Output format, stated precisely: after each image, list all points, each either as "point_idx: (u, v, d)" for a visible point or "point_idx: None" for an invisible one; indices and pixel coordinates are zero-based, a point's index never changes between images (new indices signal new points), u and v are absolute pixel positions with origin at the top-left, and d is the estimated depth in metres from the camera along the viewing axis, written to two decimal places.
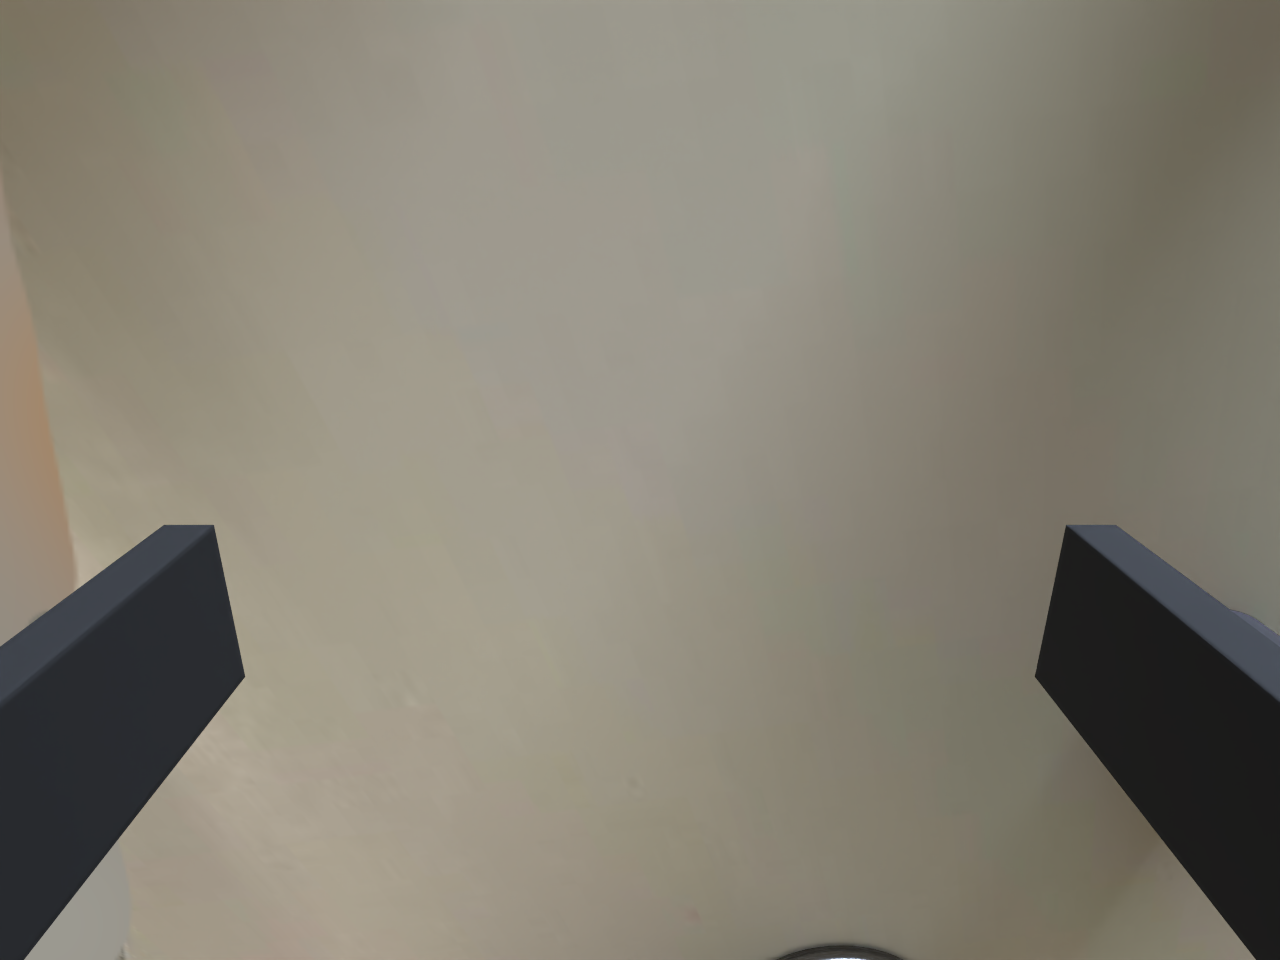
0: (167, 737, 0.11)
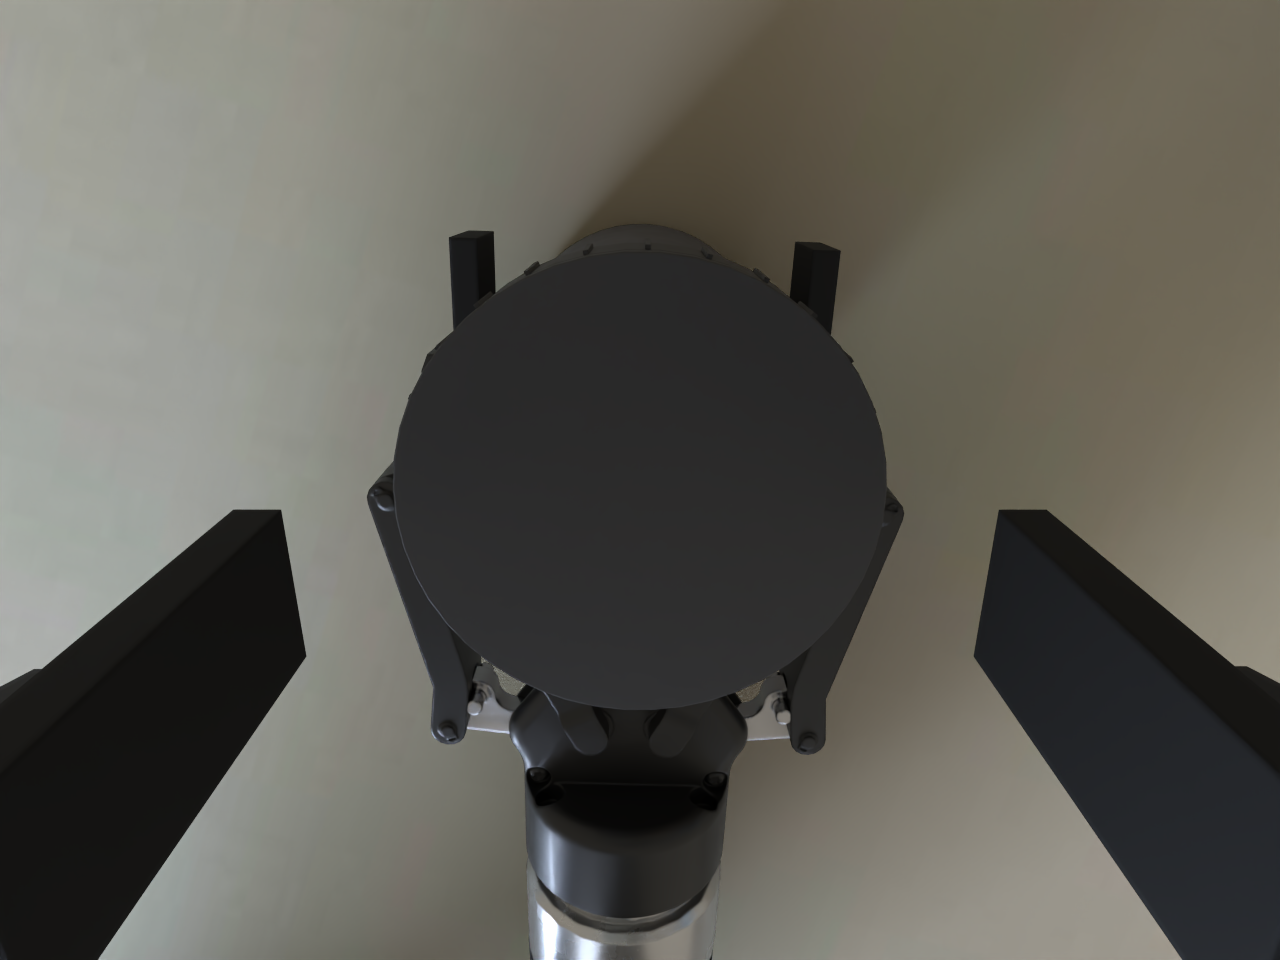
0: (243, 710, 0.12)
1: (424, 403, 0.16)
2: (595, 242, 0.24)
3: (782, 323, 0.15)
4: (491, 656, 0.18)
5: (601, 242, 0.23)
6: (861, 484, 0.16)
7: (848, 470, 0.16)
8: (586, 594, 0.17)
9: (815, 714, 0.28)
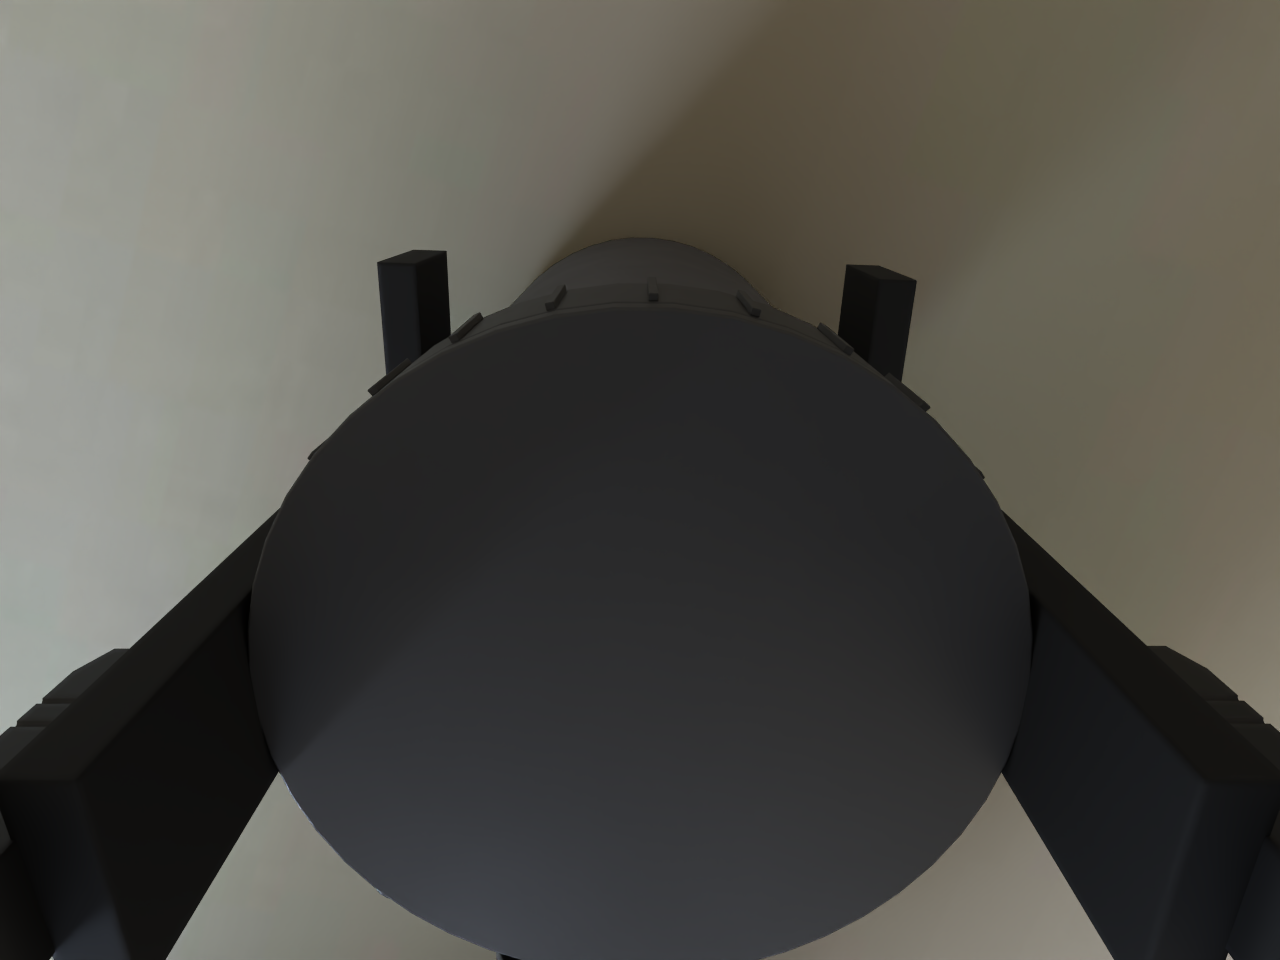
0: None
1: (290, 548, 0.10)
2: (581, 266, 0.18)
3: (877, 424, 0.09)
4: (415, 906, 0.12)
5: (588, 267, 0.17)
6: (992, 668, 0.10)
7: (971, 648, 0.10)
8: (557, 822, 0.11)
9: None
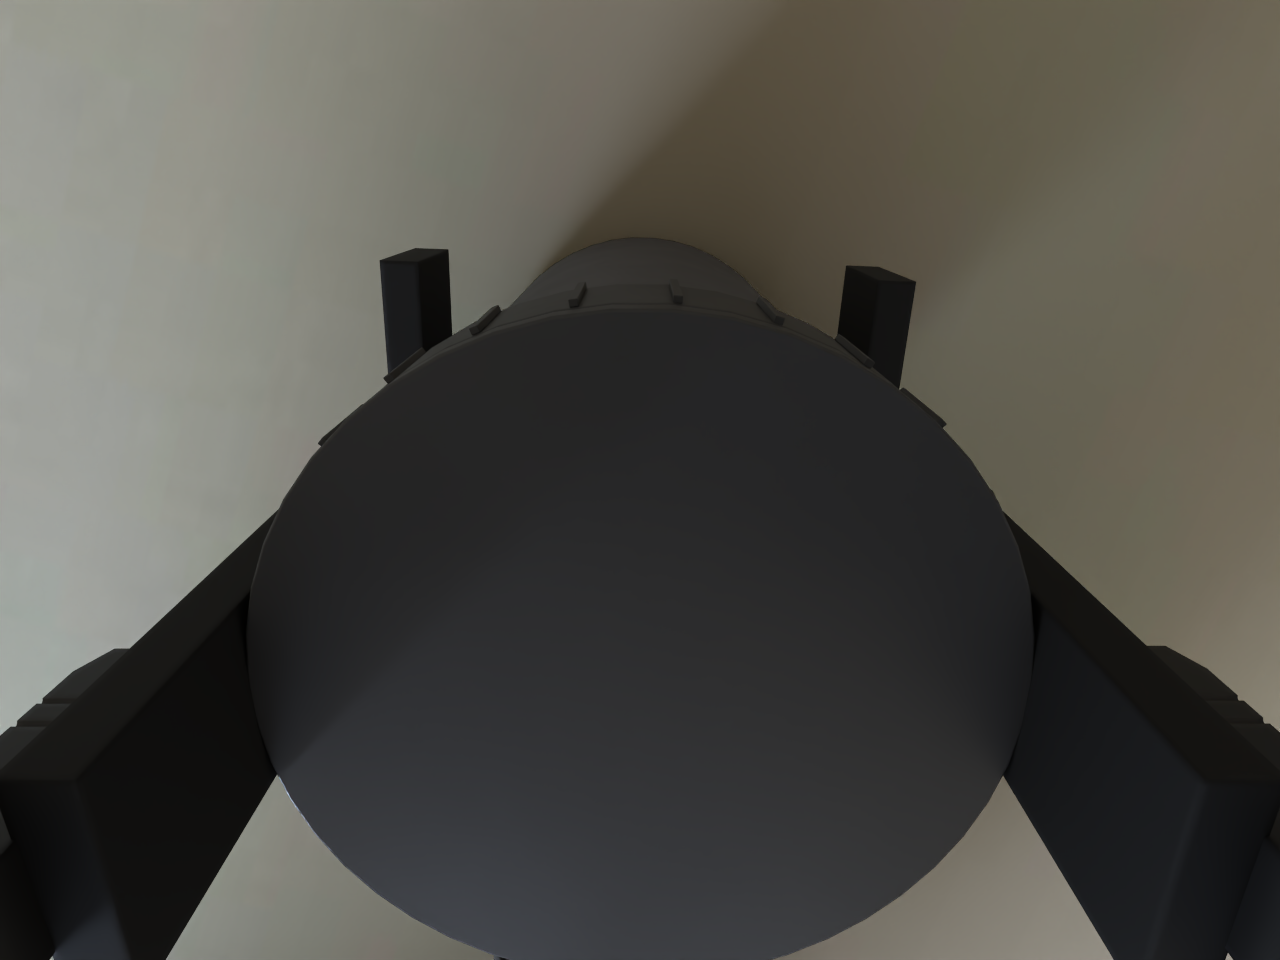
0: None
1: (494, 940, 0.12)
2: (582, 265, 0.18)
3: (321, 512, 0.09)
4: (890, 893, 0.11)
5: (590, 266, 0.17)
6: (595, 359, 0.09)
7: (567, 386, 0.09)
8: (793, 772, 0.11)
9: None
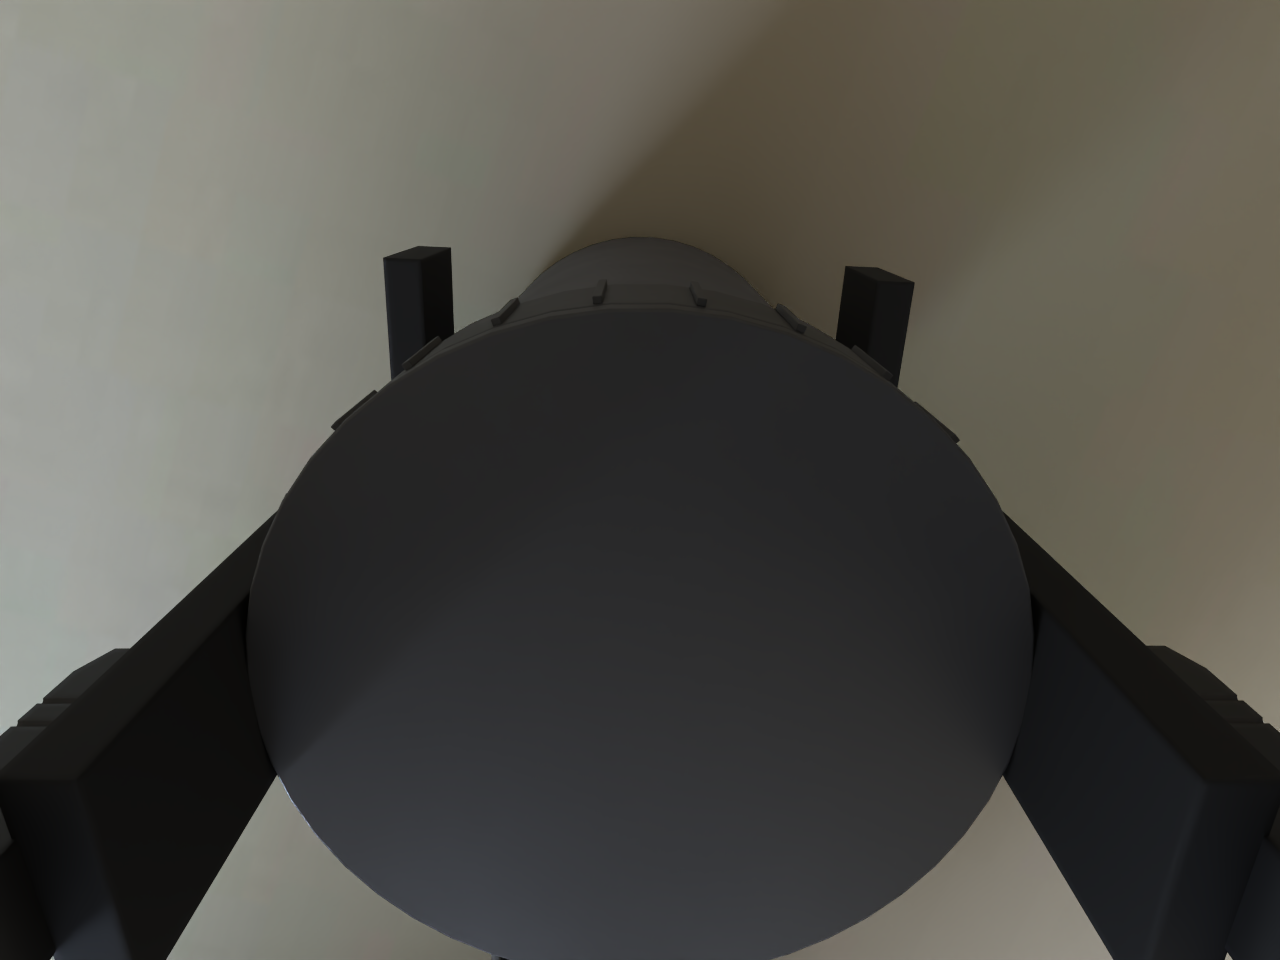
0: None
1: (944, 830, 0.11)
2: (584, 264, 0.18)
3: (458, 917, 0.12)
4: (926, 436, 0.09)
5: (591, 265, 0.18)
6: (298, 734, 0.11)
7: (324, 753, 0.11)
8: (733, 558, 0.10)
9: None
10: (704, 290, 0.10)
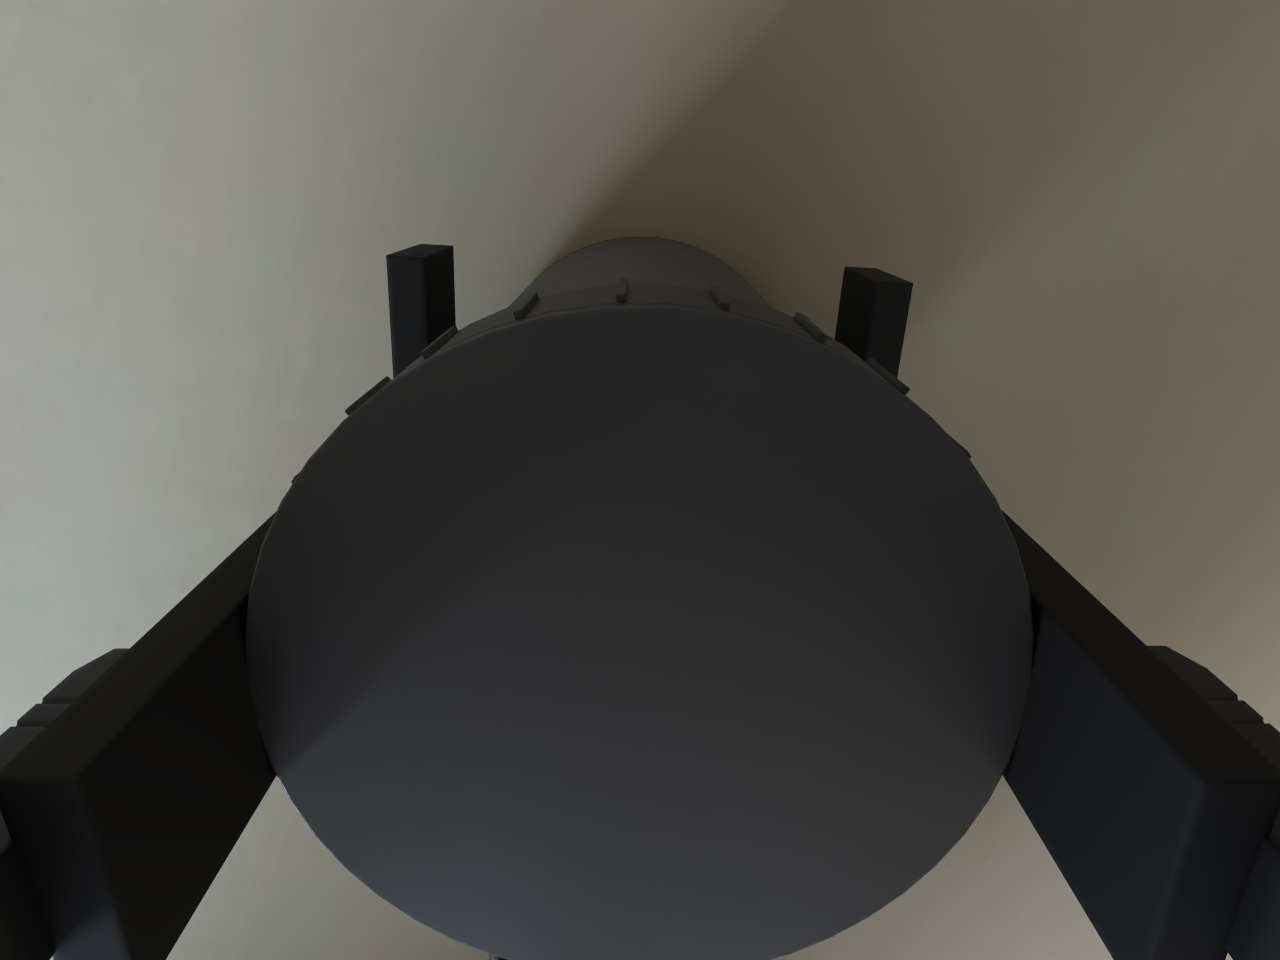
0: None
1: (830, 381, 0.09)
2: (585, 263, 0.18)
3: (906, 858, 0.11)
4: (323, 468, 0.09)
5: (592, 264, 0.18)
6: (674, 953, 0.12)
7: (695, 939, 0.12)
8: (472, 626, 0.10)
9: None
10: None
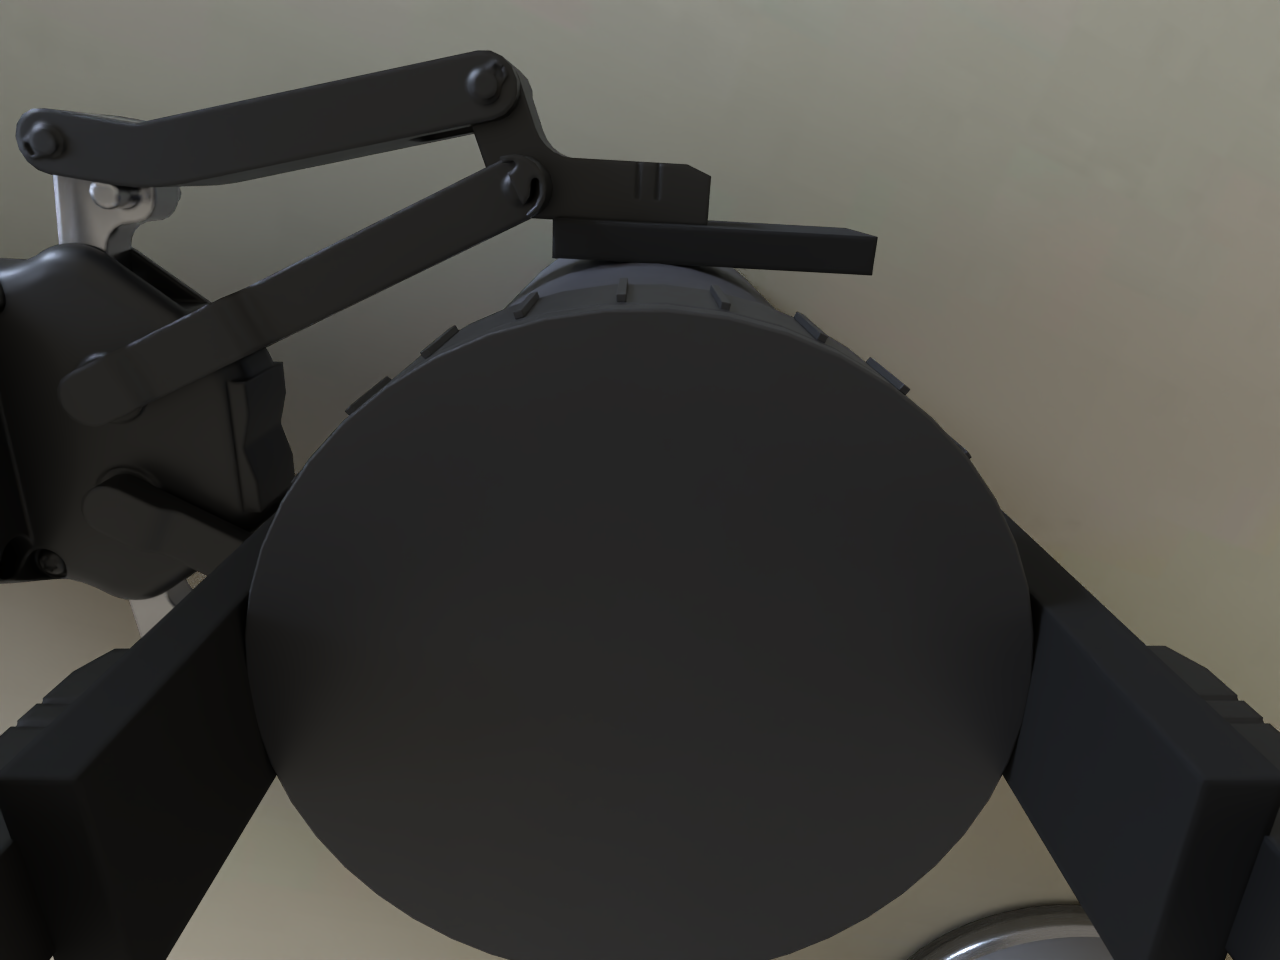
0: None
1: (830, 382, 0.09)
2: None
3: (906, 859, 0.11)
4: (323, 468, 0.09)
5: None
6: (674, 953, 0.12)
7: (695, 939, 0.12)
8: (472, 626, 0.10)
9: None
10: None
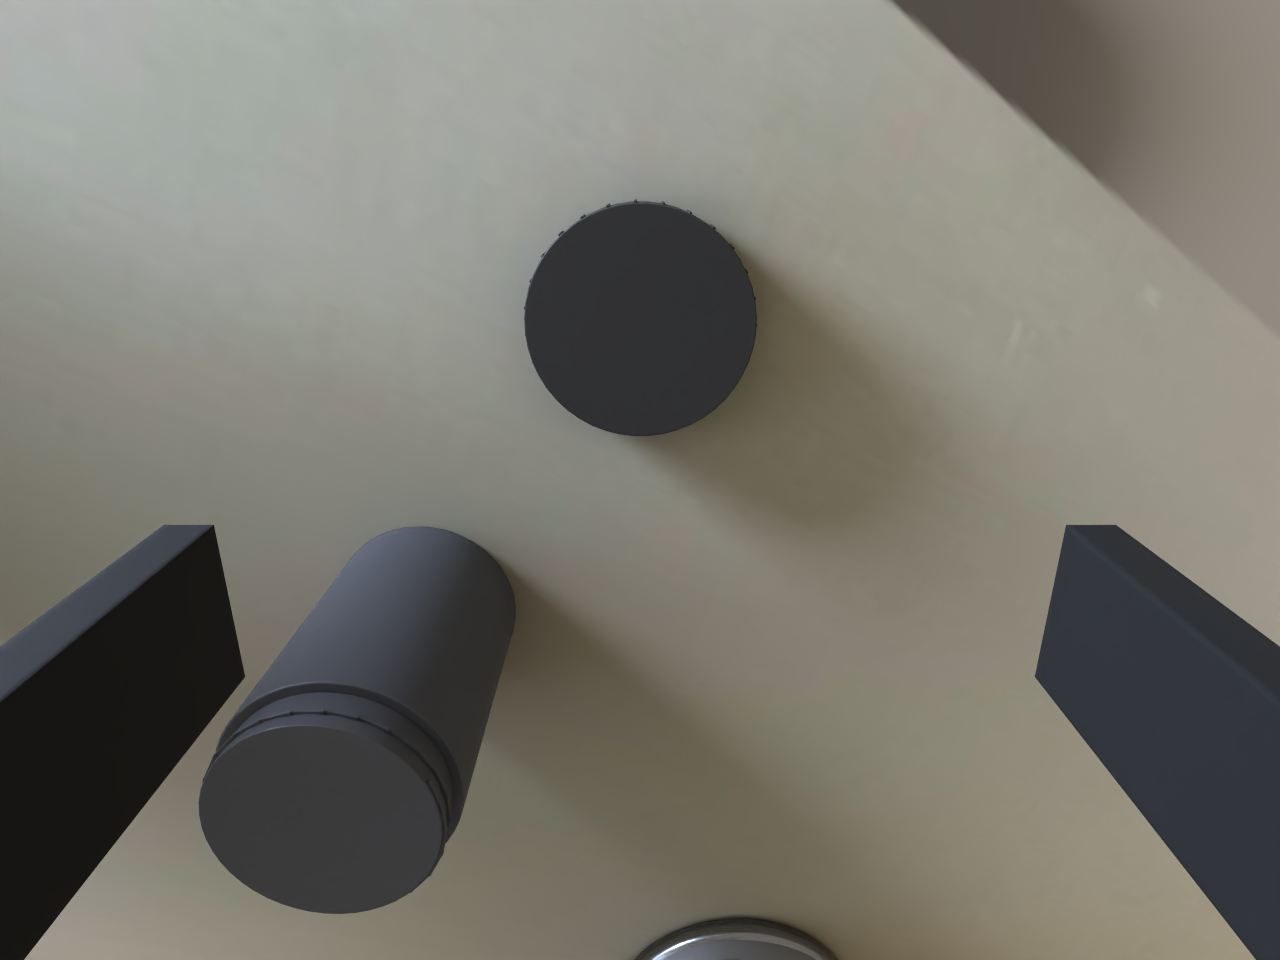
0: (167, 737, 0.11)
1: (691, 223, 0.33)
2: (492, 646, 0.36)
3: (724, 384, 0.36)
4: (554, 248, 0.34)
5: (491, 659, 0.36)
6: (652, 424, 0.36)
7: (658, 418, 0.36)
8: (592, 299, 0.34)
9: None
10: None
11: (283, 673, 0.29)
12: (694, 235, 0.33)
